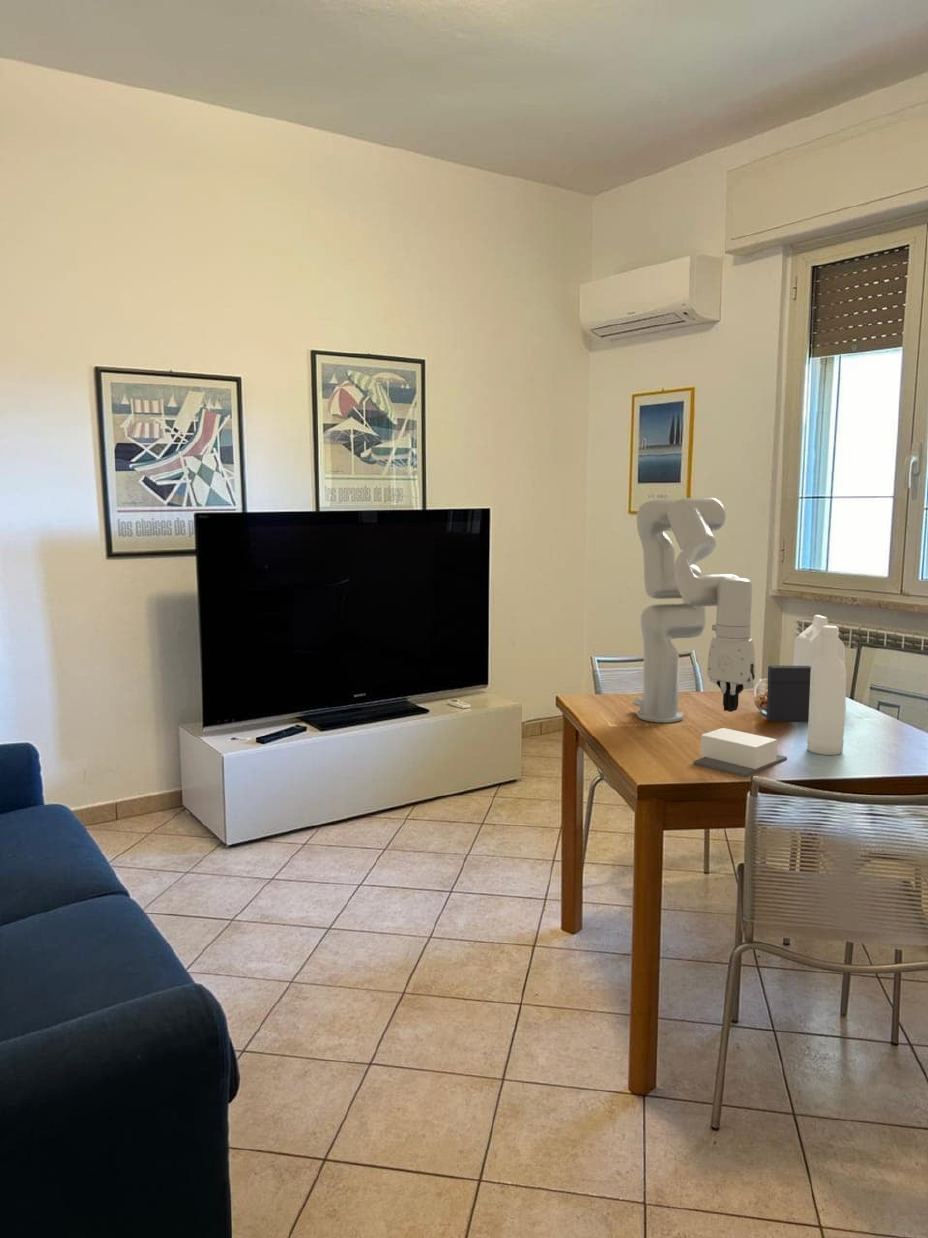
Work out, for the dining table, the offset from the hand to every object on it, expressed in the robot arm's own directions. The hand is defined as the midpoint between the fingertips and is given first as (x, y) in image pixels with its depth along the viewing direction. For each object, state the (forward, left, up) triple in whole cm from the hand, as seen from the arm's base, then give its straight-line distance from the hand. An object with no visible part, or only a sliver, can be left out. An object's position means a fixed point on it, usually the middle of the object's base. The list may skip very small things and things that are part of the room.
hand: (730, 710), depth 197 cm
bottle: (+12, +22, -12) cm, 28 cm away
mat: (+3, 0, -12) cm, 12 cm away
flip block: (-5, 0, -8) cm, 10 cm away
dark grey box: (-8, +42, -12) cm, 44 cm away
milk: (-11, +65, -12) cm, 67 cm away
